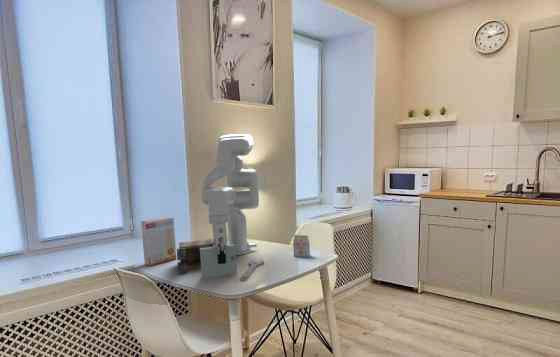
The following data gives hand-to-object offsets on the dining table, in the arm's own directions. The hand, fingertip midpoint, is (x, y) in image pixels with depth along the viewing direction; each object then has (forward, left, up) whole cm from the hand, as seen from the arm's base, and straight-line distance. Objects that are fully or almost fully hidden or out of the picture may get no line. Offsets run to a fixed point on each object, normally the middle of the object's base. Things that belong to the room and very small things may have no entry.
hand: (220, 260), depth 140 cm
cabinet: (+9, -17, -6) cm, 20 cm away
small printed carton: (-40, -12, -6) cm, 43 cm away
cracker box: (+25, -33, -6) cm, 42 cm away
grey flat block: (+1, 0, -6) cm, 6 cm away
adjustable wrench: (-12, -1, -7) cm, 14 cm away
